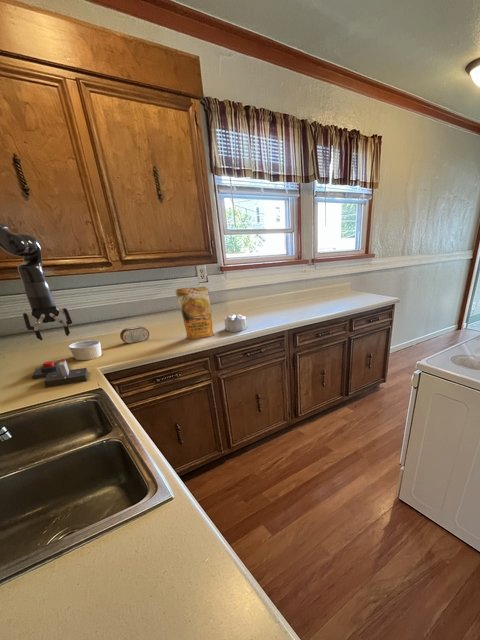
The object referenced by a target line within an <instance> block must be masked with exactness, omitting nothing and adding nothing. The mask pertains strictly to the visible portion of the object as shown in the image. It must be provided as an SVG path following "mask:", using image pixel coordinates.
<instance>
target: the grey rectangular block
mask: <svg viewBox="0 0 480 640" xmlns="http://www.w3.org/2000/svg"><path fill="white" fill-rule="evenodd" d="M58 364H59V367H60V370H61V373H62V376H63V377H65V376H68V375H69V370H70V368H69V369H68V366H67V364H68V363H67V361H66V359H62V360H60V361H59V363H58Z"/></svg>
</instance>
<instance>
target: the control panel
mask: <svg viewBox="0 0 480 640" xmlns="http://www.w3.org/2000/svg"><path fill="white" fill-rule="evenodd" d="M88 377H89V370H88V368H87V367H80V368H73V369H69V375H68V376H65V377H63V376H62V373H61V371H60V372H53V373H48V374H47V376H46V378H44V381H43V383H44V385H45V389H46V388H53V387H59V386H65V385H71V384H78V383H83V382H87V381H88Z"/></svg>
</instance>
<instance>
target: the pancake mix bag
mask: <svg viewBox="0 0 480 640" xmlns="http://www.w3.org/2000/svg"><path fill="white" fill-rule="evenodd" d="M175 295H176V300H177V302H178V306H179V311H180V313H181V316H182V319H183V324H184V327H185V331H186V337H185V339H190V340H192V339H199V338H210V337H212V336H215V334H214V330H213V329H214V327H213V314H212V303H211V302H212V301H211V297H210V292H209V288H207V287H206V286H197V287H182V288H176V289H175Z"/></svg>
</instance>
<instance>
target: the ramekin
mask: <svg viewBox="0 0 480 640" xmlns="http://www.w3.org/2000/svg"><path fill="white" fill-rule="evenodd" d="M101 345H102V344H101V341H100V340H95V339H91V340H88V339H87V340H81V341H77V342H73V343H71V344H70V345H69V346H68V349H69V350H70V353H71V354H72V356H73V357H74V359H75V360H77V361H89V360H95V359H97V358H99V357H101V356H102V347H101Z"/></svg>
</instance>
